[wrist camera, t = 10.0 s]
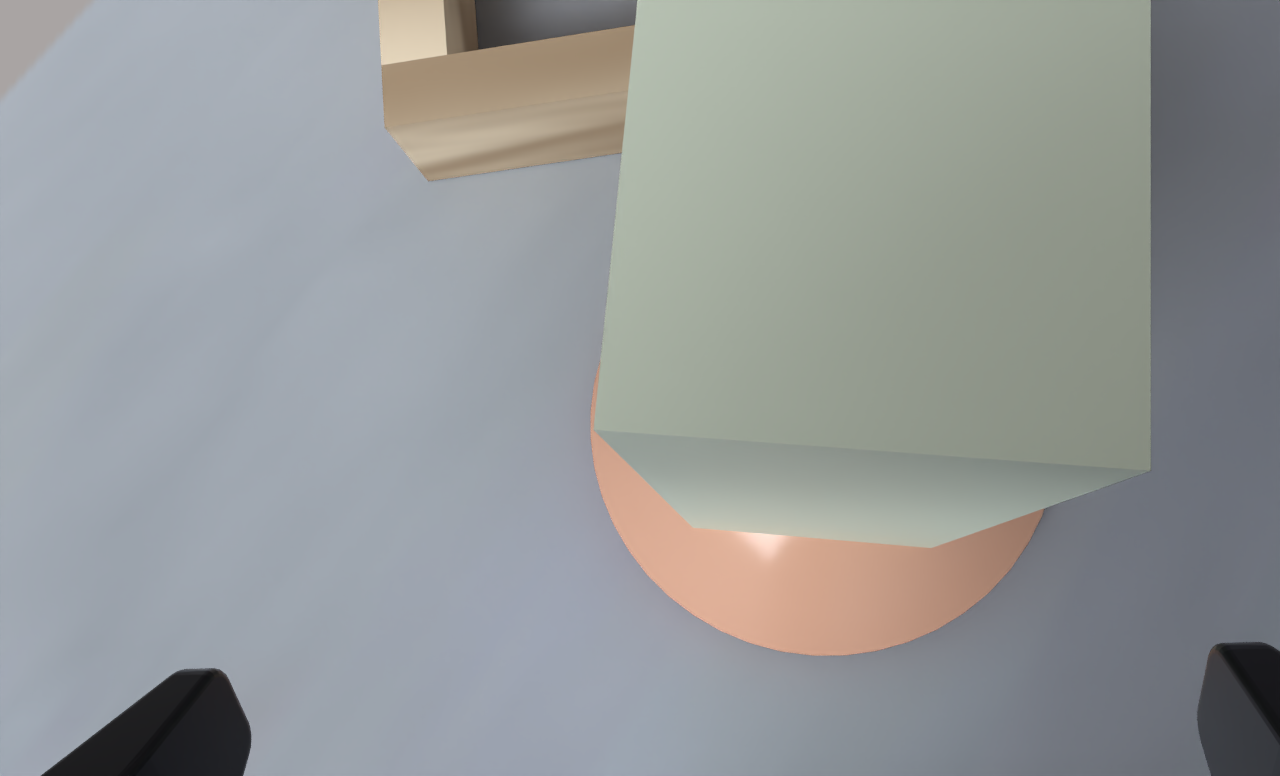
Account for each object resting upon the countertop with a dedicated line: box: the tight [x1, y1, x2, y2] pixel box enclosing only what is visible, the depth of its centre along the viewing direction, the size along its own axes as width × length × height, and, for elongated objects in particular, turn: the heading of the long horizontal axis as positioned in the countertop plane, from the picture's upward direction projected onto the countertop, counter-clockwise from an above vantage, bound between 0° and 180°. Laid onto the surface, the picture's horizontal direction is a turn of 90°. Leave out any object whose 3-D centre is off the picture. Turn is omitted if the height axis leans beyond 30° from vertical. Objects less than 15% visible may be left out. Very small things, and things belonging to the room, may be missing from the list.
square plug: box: [593, 0, 1151, 548], centre depth 16 cm, size 5×5×13 cm
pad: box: [591, 359, 1045, 655], centre depth 23 cm, size 10×10×1 cm
